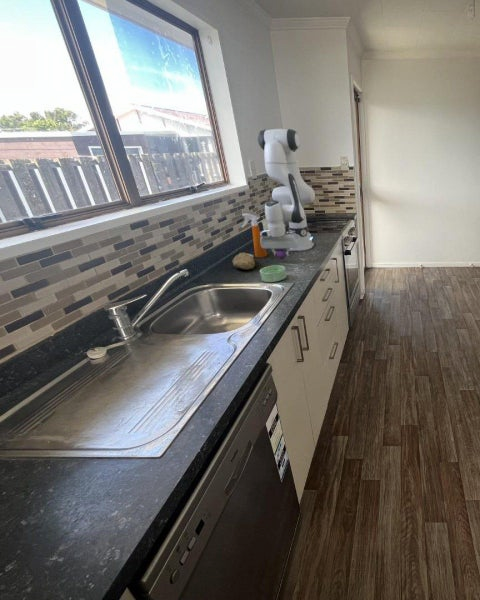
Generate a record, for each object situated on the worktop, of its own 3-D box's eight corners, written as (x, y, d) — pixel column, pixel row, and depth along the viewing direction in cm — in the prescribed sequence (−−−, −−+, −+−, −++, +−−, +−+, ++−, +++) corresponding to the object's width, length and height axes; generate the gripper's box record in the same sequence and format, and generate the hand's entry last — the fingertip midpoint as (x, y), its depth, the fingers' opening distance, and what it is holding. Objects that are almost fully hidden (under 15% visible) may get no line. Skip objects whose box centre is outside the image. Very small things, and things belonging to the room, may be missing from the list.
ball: (276, 258, 188) (274, 250, 185) (284, 256, 191) (282, 248, 188) (280, 260, 184) (278, 252, 182) (288, 258, 187) (287, 250, 185)
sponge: (237, 264, 192) (225, 269, 173) (237, 251, 190) (226, 254, 171) (260, 267, 195) (252, 271, 176) (261, 253, 193) (253, 257, 174)
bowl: (257, 278, 168) (255, 269, 166) (279, 272, 175) (278, 263, 173) (268, 285, 160) (266, 275, 158) (291, 278, 168) (289, 269, 165)
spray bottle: (247, 256, 202) (238, 213, 191) (265, 253, 207) (257, 211, 196) (250, 259, 196) (240, 215, 185) (268, 256, 202) (260, 212, 190)
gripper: (297, 230, 183) (301, 253, 189) (261, 230, 183) (266, 253, 190) (294, 233, 177) (298, 257, 184) (256, 233, 178) (262, 257, 184)
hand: (281, 255), depth 187 cm, fingers closed on ball, 5 cm apart
